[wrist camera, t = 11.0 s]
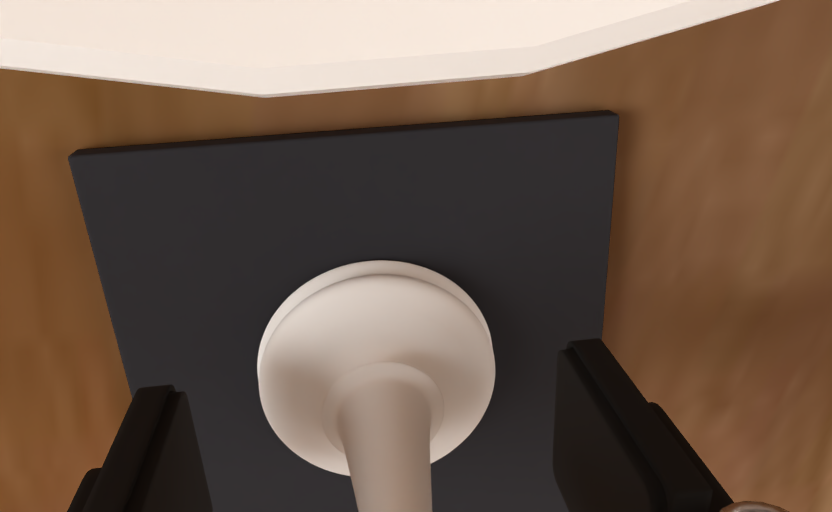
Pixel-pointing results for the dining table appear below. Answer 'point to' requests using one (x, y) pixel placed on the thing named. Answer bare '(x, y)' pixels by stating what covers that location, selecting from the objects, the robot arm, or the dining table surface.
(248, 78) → the bowl
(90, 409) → the dining table surface
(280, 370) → the chess piece
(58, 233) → the dining table surface
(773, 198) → the dining table surface
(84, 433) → the dining table surface
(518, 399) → the coaster
